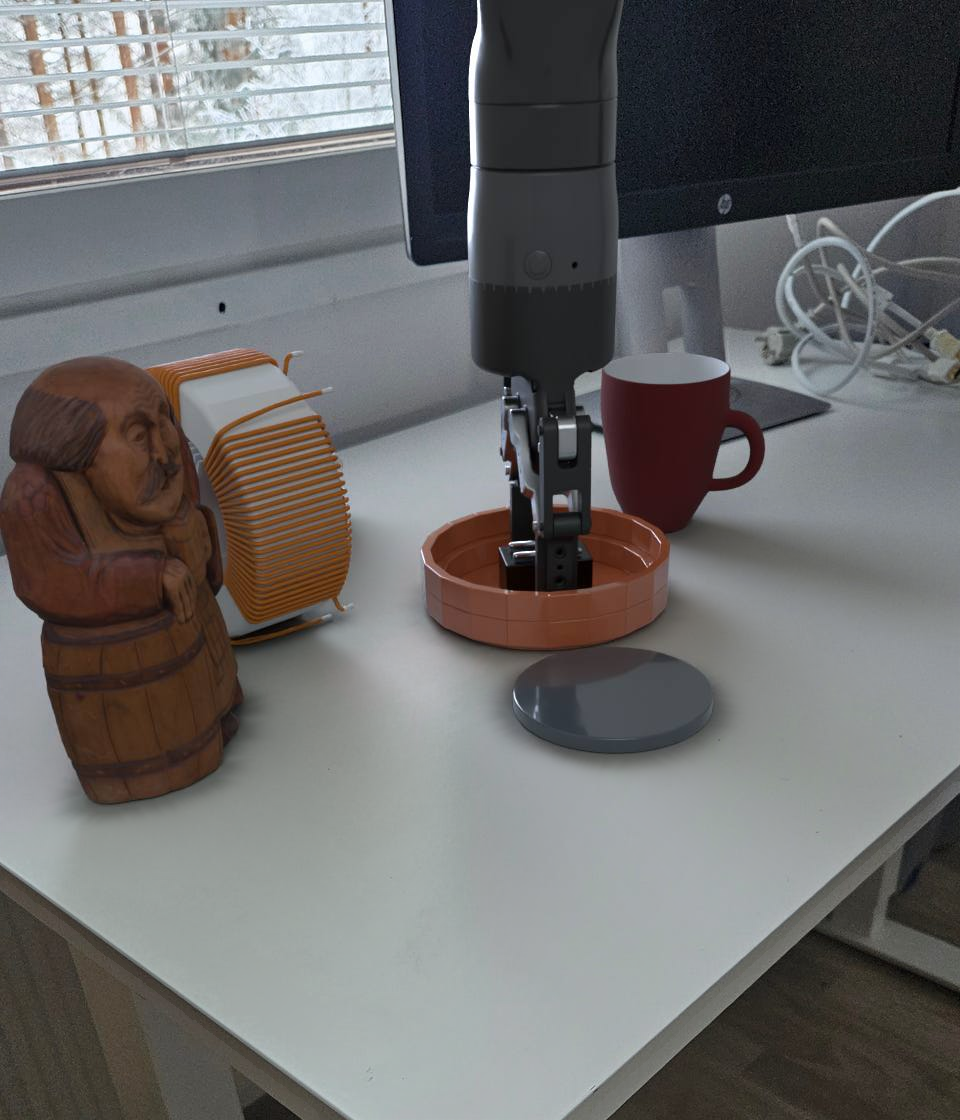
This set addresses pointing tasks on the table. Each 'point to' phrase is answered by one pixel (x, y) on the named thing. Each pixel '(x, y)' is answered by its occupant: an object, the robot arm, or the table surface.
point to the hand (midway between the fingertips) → (541, 570)
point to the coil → (263, 486)
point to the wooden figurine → (120, 579)
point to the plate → (613, 699)
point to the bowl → (545, 617)
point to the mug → (670, 434)
